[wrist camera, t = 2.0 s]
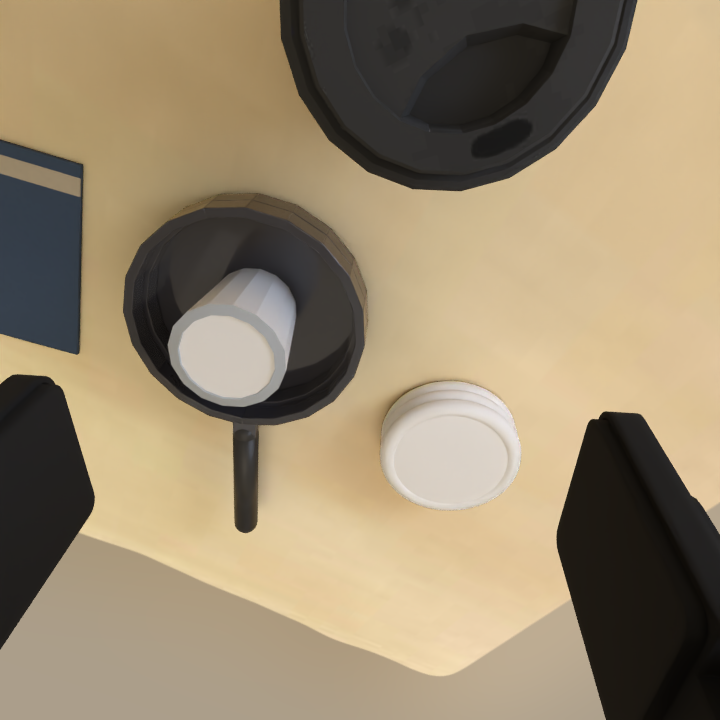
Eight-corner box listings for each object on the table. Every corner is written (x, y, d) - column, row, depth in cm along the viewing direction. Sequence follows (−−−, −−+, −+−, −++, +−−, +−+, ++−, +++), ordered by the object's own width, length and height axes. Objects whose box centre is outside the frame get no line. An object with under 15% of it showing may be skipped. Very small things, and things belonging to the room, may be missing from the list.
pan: (138, 364, 41) (117, 391, 38) (156, 160, 33) (131, 172, 30) (335, 419, 42) (329, 448, 39) (397, 233, 35) (395, 252, 32)
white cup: (313, 272, 36) (294, 320, 30) (297, 360, 39) (277, 419, 33) (209, 248, 36) (168, 291, 30) (202, 338, 39) (164, 394, 33)
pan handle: (236, 406, 40) (229, 421, 38) (261, 409, 40) (255, 424, 38) (237, 519, 46) (232, 536, 44) (259, 522, 46) (254, 539, 44)
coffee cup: (381, 170, 33) (363, 260, 20) (287, -44, 28) (182, -108, 15) (575, 77, 29) (704, 114, 17) (508, -182, 25) (618, -416, 12)
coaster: (515, 372, 39) (524, 401, 36) (513, 479, 44) (521, 512, 41) (374, 382, 40) (371, 410, 37) (388, 484, 45) (386, 516, 42)
